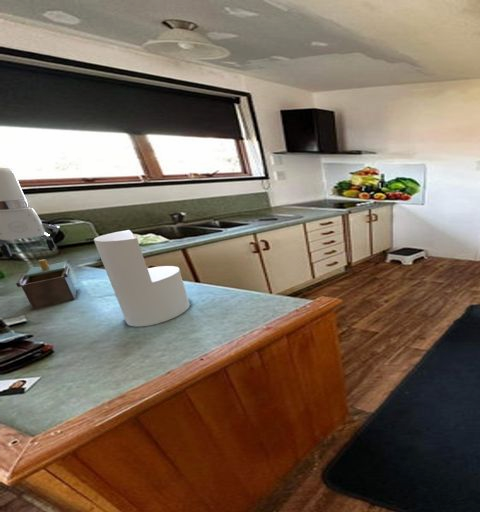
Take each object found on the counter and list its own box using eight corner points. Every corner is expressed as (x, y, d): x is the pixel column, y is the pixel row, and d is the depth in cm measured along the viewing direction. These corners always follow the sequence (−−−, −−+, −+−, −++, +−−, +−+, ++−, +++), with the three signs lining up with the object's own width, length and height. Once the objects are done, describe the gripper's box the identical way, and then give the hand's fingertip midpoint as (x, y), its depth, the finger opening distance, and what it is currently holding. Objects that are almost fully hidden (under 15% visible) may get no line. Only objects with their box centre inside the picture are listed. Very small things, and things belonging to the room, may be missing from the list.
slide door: (26, 277, 101) (20, 265, 99) (31, 269, 109) (25, 258, 107) (64, 269, 107) (59, 258, 106) (66, 263, 115) (62, 252, 113)
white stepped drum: (130, 333, 82) (95, 245, 73) (123, 313, 93) (92, 235, 84) (195, 310, 94) (173, 232, 85) (183, 295, 105) (161, 225, 96)
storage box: (30, 310, 97) (15, 283, 93) (34, 300, 105) (21, 274, 101) (77, 299, 105) (66, 273, 101) (79, 290, 113) (68, 266, 109)
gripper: (-38, 209, 84) (-12, 261, 90) (48, 204, 96) (66, 250, 101) (-30, 207, 89) (-6, 256, 95) (50, 202, 101) (67, 246, 106)
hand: (31, 253), depth 98 cm, fingers open, 9 cm apart
